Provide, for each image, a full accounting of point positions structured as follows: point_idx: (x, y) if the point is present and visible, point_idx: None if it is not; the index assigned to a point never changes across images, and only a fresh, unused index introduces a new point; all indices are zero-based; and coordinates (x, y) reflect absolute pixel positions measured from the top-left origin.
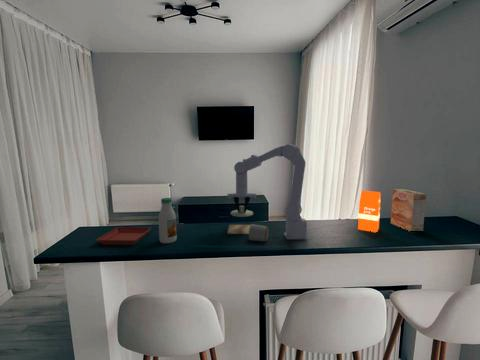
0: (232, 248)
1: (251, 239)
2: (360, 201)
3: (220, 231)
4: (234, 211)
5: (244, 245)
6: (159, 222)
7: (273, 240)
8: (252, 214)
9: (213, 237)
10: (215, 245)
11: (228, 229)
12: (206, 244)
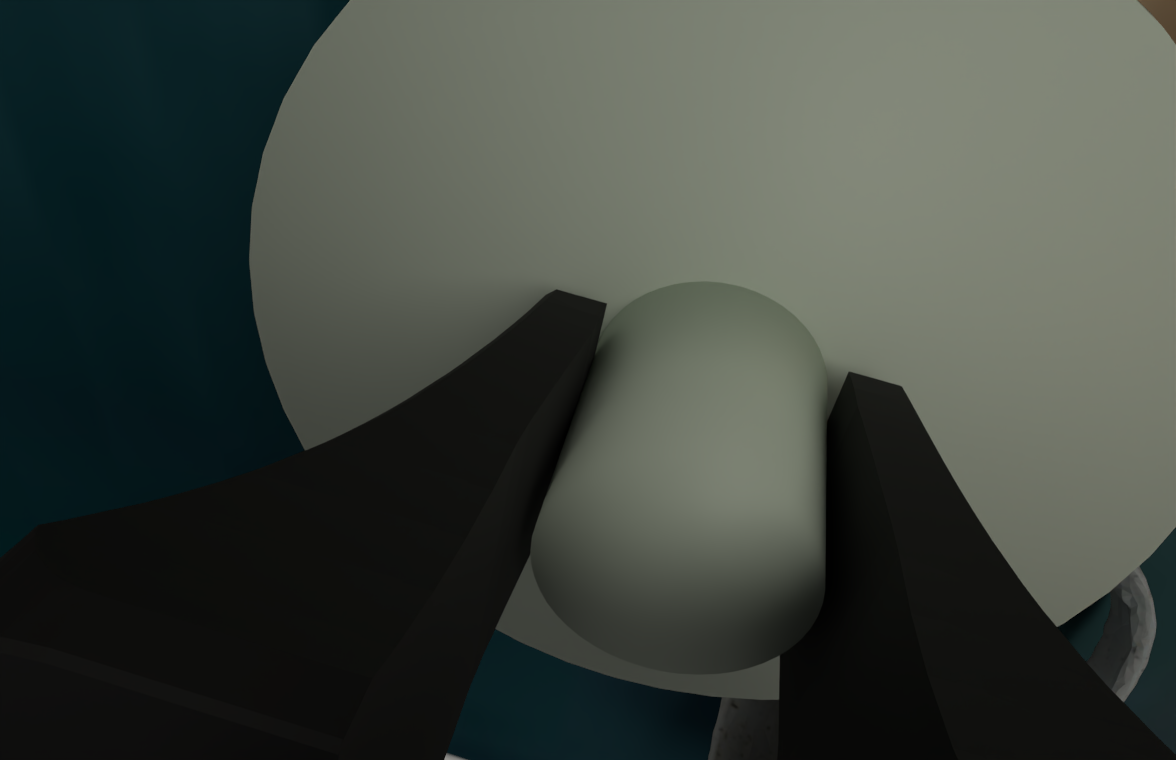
0: (464, 717)
1: (758, 714)
2: None
3: (236, 10)
4: (410, 152)
5: (634, 702)
6: None
7: (1171, 711)
8: (1061, 603)
9: (154, 315)
10: None
11: None
12: None
